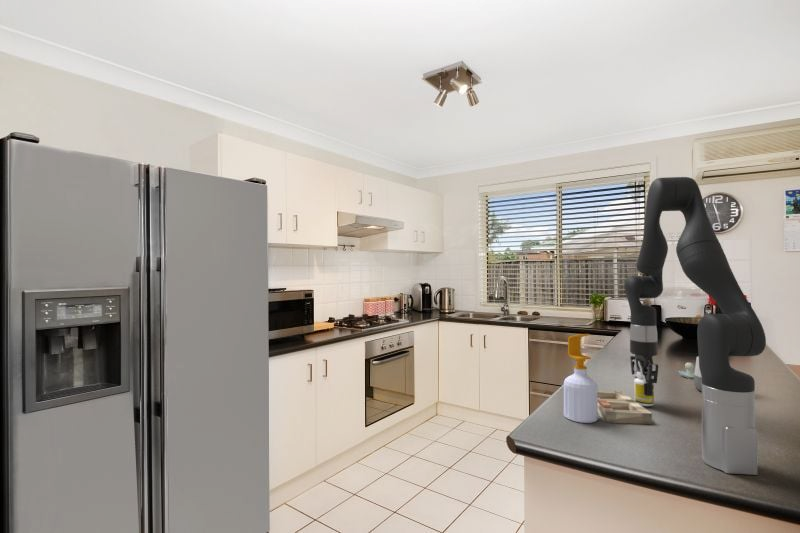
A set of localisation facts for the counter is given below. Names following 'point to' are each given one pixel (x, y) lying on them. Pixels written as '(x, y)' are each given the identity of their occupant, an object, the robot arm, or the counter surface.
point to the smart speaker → (698, 376)
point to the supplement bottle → (642, 392)
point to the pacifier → (688, 371)
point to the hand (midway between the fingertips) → (643, 392)
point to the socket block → (621, 408)
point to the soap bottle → (580, 387)
